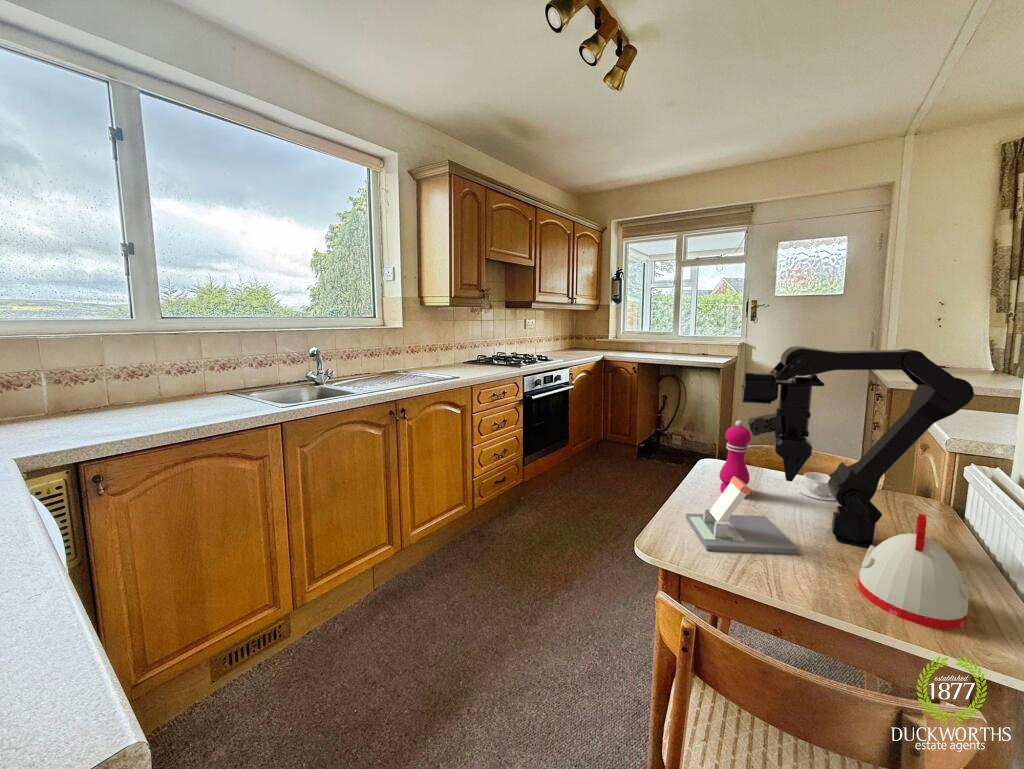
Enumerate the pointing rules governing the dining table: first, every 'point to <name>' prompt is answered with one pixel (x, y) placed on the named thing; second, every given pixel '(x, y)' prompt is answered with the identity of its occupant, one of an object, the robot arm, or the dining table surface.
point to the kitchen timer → (915, 580)
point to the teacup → (816, 486)
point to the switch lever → (729, 500)
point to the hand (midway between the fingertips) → (788, 473)
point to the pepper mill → (735, 455)
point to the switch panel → (740, 534)
